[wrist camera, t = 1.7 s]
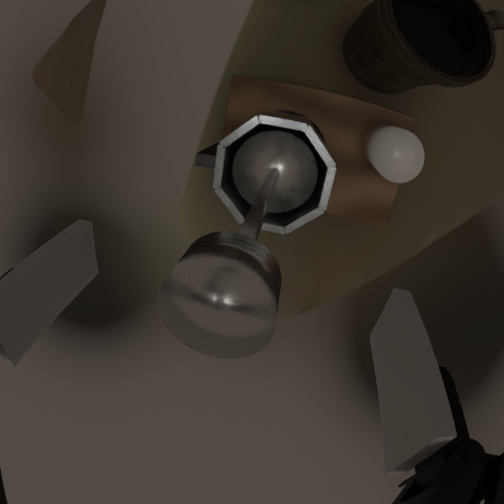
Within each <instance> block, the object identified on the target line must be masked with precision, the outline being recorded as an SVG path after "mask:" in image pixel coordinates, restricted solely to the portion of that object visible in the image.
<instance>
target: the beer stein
mask: <svg viewBox="0 0 504 504" xmlns="http://www.w3.org/2000/svg"><path fill="white" fill-rule="evenodd" d="M500 29H504V13H503V12H501V11H498V10H491V11H488V12H484V10H483V9H482V7H481V6H480V4H479V3H478V2H477V1H476V0H375V1H374V2H372V3H370V4H369V5H368V6H367V7H366V8H365V9H364V10H363V11H362V13H361V15H360V16H359V17H358V19H357V20H356V22H355V23H354V24H353V26H352V28H351V29H350V30H349V31H348V33H347V35H346V37H345V40H344V46H343V52H344V58H345V61H346V63H347V66H348V68H349V69H350V71H351V72H352V74H353V75H354V76H355V77H356V78H357V79H358V80H359V81H360V82H361V83H363V84H364V85H365V86H367V87H368V88H370V89H373V90H375V91H378V92H382V93H398V92H402V91H406V90H409V89H412V88H414V87H416V86H422V85H429V84H437V85H441V86H444V87H463V86H467V85H470V84H472V83H474V82H477V81H479V80H481V79H482V78H484V77H485V76H486V75H487V73H488V72H489V71H490V69H491V68H492V66H493V63H494V59H495V53H496V45H495V36H494V33H493V31H495V30H500Z"/></svg>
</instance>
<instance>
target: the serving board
mask: <svg viewBox="0 0 504 504" xmlns="http://www.w3.org/2000/svg"><path fill="white" fill-rule="evenodd" d="M278 110H287V111H293V112H297V113H299V114H302V115H303V116H305V117H307V118H308V119H310V120H311V121H312V122H313V123H314V124H315V125H316V126H317V127H318V129H319V130H320V132H321V133H322V135H323V137H324V140H325V143H326V146H327V148H328V150H329V152H330V154H331V156H332V158H333V160H334V162H335V164H336V172H335V177H334V181H333V185H332V189H331V193H330V196H329V200H328V204H327V208H326V211H325V210H324V213H326V214H330V215H334V216H338V217H343V218H347V219H351V220H355V221H359V222H363V223H367V224H371V225H375V226H378V227H382V228H385V226H386V223H387V220H388V217H389V214H390V211H391V208H392V205H393V202H394V199H395V196H396V193H397V189H398V186H399V183H395V182H391V181H389V180H387V179H386V178H384V177H383V176H382V175H381V174H380V173H379V172H378V171H377V170H376V169H375V168H374V167H373V166H372V165H371V164H370V163H369V162H368V161H367V159H366V158H365V156H364V154H363V151H362V139H363V136H364V134H365V132H366V131H367V130H368V129H369V128H370V127H372V126H374V125H376V124H381V123H384V124H389V125H392V126H395V127H399V128H402V129H405V130H407V131H410V132H411V133H413V131H414V126H415V122H416V118H413V117H410V116H408V115H405V114H402V113H399V112H396V111H393V110H390V109H387V108H384V107H381V106H378V105H375V104H372V103H368V102H365V101H362V100H358V99H355V98H351V97H347V96H343V95H339V94H335V93H331V92H327V91H323V90H318V89H314V88H309V87H304V86H299V85H294V84H288V83H282V82H276V81H270V80H263V79H256V78H248V77H239V76H232V79H231V86H230V92H229V99H228V106H227V113H226V121H225V128H224V136H223V139H224V138H226V137H227V136H228V135H230V134H231V133H232V132H234V131H235V130H237V129H238V128H239V127H241V126H242V125H243V124H245V123H246V122H248V121H249V120H250V119H252V118H253V117H255V116H256V115H260V114H263V113H267V112H271V111H278Z"/></svg>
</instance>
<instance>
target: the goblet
mask: <svg viewBox="0 0 504 504" xmlns="http://www.w3.org/2000/svg"><path fill="white" fill-rule="evenodd" d="M232 171H233V179H234V183H235V186H236V188H237V190H238V191H239V193H240V194H241V196H242V197H243V198H244V199H245V200H246V201H247V202H248V203H249V204H251V205H252V206H251V208H250V210H249V212H248V214H247V216H246V218H245V220H244V222H243V224H242V226H241V228H240V230H239V232H238V233H236V232H229V231H220V232H213V233H209V234H206V235H204V236H202V237H200V238H198V239H197V240H196V241H194V242H193V243H192V244H191V245H190V247H189V248H188V249H187V251H186V252H185V253H184V255H183V256H182V257H181V259H180V260H179V262H178V263H177V264H176V266H175V267H174V269H173V270H172V271H171V273H170V274H169V276H168V277H167V278H166V280H165V281H164V283H163V284H162V286H161V288H160V291H159V294H158V308H159V312H160V315H161V317H162V320H163V322H164V323H165V325H166V326H167V328H168V329H169V331H170V332H171V333H172V334H173V335H174V336H175V337H176V338H177V339H179V340H180V341H181V342H182V343H184V344H185V345H186V346H188V347H190V348H191V349H193V350H196V351H197V352H200V353H202V354H205V355H208V356H212V357H217V358H226V359H233V358H234V359H235V358H242V357H247V356H250V355H252V354H255V353H257V352H258V351H260V350H261V349H263V348H264V347H265V346H266V345H267V344H268V343H269V341H270V340H271V338H272V335H273V333H274V328H275V322H276V317H277V310H278V304H279V298H280V291H281V285H282V277H281V271H280V268H279V265H278V263H277V261H276V259H275V258H274V256H273V255H272V254H271V253H270V251H269V250H268V249H267V248H266V247H265V246H263V245H262V244H261V243H259V242H258V241H257V239H258V236H259V233H260V230H261V227H262V225H263V222H264V219H265V216H266V213H267V212H273V213H279V212H286V211H290V210H293V209H295V208H297V207H299V206H300V205H302V204H303V203H304V202H305V201H306V200H307V199H308V198H309V197H310V195H311V194H312V192H313V190H314V188H315V186H316V182H317V176H318V170H317V163H316V160H315V157H314V154H313V153H312V151H311V149H310V148H309V146H308V145H307V144H306V143H305V142H304V141H303V140H302V139H300V138H299V137H297V136H296V135H294V134H291V133H289V132H286V131H281V130H268V131H263V132H260V133H258V134H255V135H254V136H252V137H250V138H249V139H248V140H247V141H245V142H244V143H243V144H242V145H241V147H240V148H239V150H238V151H237V153H236V155H235V158H234V162H233V170H232Z"/></svg>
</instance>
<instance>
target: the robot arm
mask: <svg viewBox="0 0 504 504" xmlns="http://www.w3.org/2000/svg"><path fill="white" fill-rule="evenodd" d="M97 274H98V267H97V260H96V253H95V246H94V238H93V229H92V222H90V221H85V220H80V219H79V220H78V221H76V222H75V223H73V224H72V225H71V226H69V227H68V228H66V229H65V230H63V231H62V232H61V233H59V234H58V235H56V236H55V237H54V238H52V239H51V240H50V241H48V242H47V243H46V244H44V245H43V246H42V247H40V248H39V249H38V250H36V251H35V252H34V253H33V254H31V255H30V256H29V257H27V258H26V259H25V260H24V261H22V262H21V263H20V264H19V265H17V266H16V267H15V268H12V269H10V270H9V271H8V272H6V273H5V274H4V275H3V276H2V277H1V279H0V354H1V356H2V357H3V359H5V360H6V361H7V362H9V363H10V364H12V365H13V366H15V365H16V364H17V363H18V362H19V360H20V359H21V358H22V357H23V355H24V354H25V353H26V352H27V351H28V349H29V348H30V347H31V346H32V344H33V343H34V342H35V341H36V340H37V339H38V337H39V336H40V335H41V334H42V333H43V332H44V330H45V329H46V328H47V327H48V326H49V325H50V324H51V323H52V321H53V320H54V319H55V318H56V317H57V316H58V315H59V314H60V312H61V311H62V310H63V309H64V308H65V307H66V306H67V305H68V304H69V303H70V302H71V301H72V299H73V298H74V297H75V296H76V295H77V294H78V293H79V292H80V291H81V290H82V289H83V288H84V287H85V286H86V285H87V284H88V283H89V282H90V281H91V280H92V279H93V278H94V277H95V276H96V275H97ZM369 337H370V343H371V349H372V355H373V361H374V367H375V374H376V381H377V388H378V396H379V403H380V404H379V405H380V413H381V423H382V434H383V447H384V463H385V475H389V474H404V473H406V472H407V471H409V470H411V469H412V468H414V467H415V472H416V474H415V475H413V476H412V477H410V478H408V479H406V480H405V481H403V482H402V483H401V484H400V485H398V486H399V487H402V486H404V485H406V486H405V487H404V489H403V490H402V491H401V493H400V494H399V495H398V497H397V498H396V499H395V501H394V502H393V503H392V504H480V501H482V500H484V499H485V502H484V504H504V453H502V454H501V455H499V456H497V455H492V454H488V453H485V451H484V449H483V447H482V445H481V444H480V443H479V442H478V441H476V440H473V439H470V437H469V434H468V429H467V425H466V421H465V418H464V414H463V410H462V407H461V403H460V402H459V396H458V393H457V392H456V387H455V383H454V381H453V378H452V376H451V375H450V374H449V372H448V371H447V369H446V368H445V367H438V364H437V361H436V358H435V356H434V352H433V350H432V347H431V344H430V341H429V338H428V335H427V333H426V330H425V327H424V325H423V322H422V320H421V317H420V315H419V312H418V310H417V307H416V305H415V302H414V300H413V297H412V295H411V293H410V291H406V290H401V289H397V288H394V289H393V292H392V294H391V296H390V298H389V300H388V302H387V304H386V306H385V308H384V310H383V312H382V314H381V316H380V318H379V320H378V321H377V323H376V325H375V327H374V329H373V331H372V333H371V335H370V336H369ZM0 504H7V500H6V496H5V491H4V486H3V481H2V476H1V470H0Z"/></svg>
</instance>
